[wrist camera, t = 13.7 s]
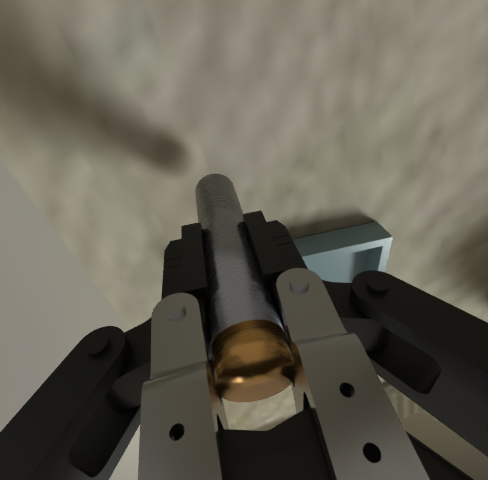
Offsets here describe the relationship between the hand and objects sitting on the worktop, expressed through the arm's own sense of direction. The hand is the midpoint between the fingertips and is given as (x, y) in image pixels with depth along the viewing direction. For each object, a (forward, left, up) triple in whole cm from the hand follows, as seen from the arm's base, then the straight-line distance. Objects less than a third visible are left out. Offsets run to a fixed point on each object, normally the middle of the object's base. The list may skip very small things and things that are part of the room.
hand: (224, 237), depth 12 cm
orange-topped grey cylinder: (0, 0, -4) cm, 4 cm away
